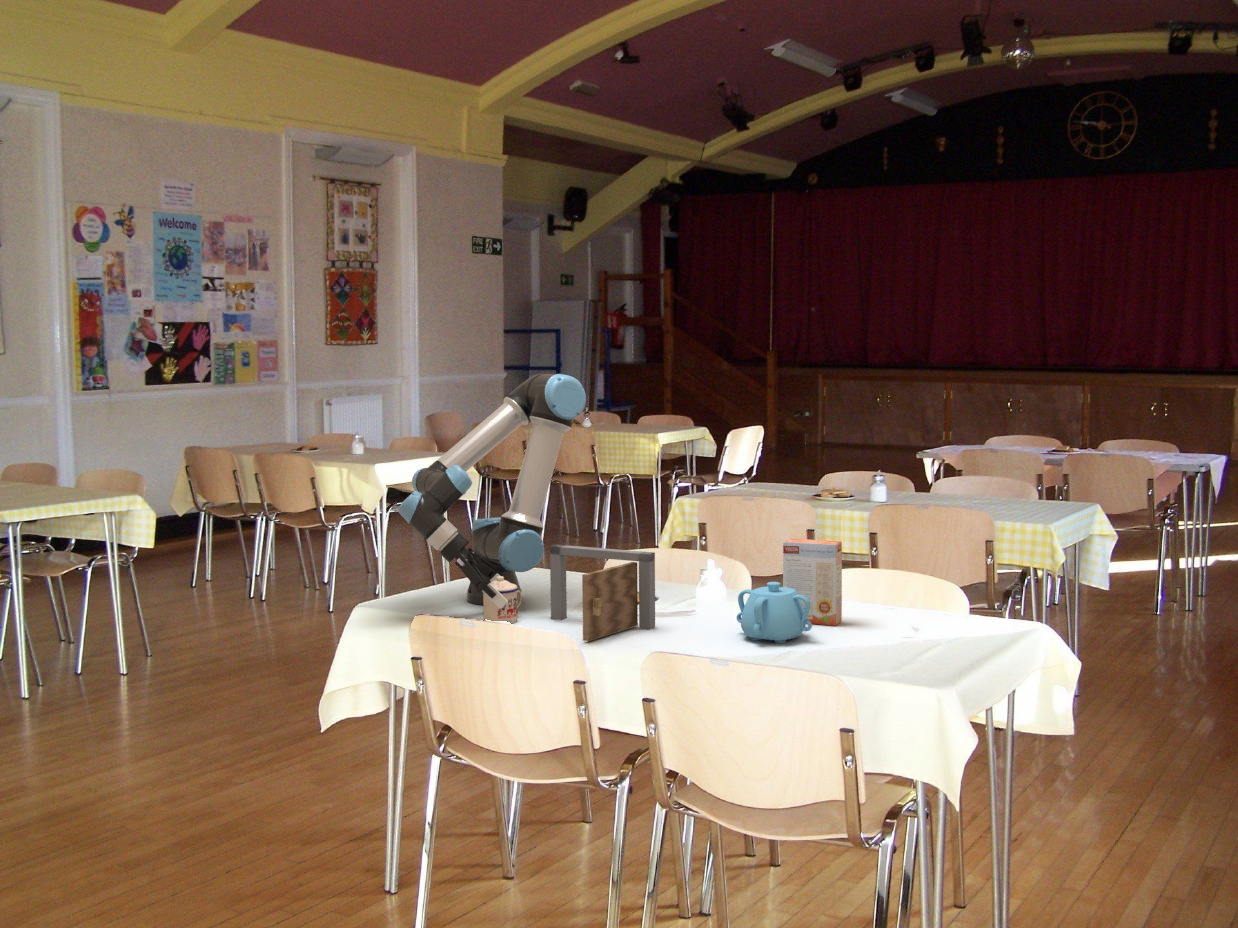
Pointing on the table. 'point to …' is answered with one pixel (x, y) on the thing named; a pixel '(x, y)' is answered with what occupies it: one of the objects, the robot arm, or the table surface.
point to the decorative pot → (773, 613)
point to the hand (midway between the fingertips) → (508, 599)
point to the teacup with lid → (509, 608)
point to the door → (609, 600)
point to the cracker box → (815, 577)
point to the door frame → (644, 558)
